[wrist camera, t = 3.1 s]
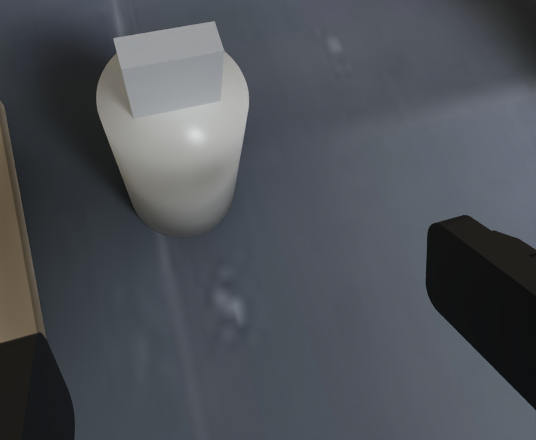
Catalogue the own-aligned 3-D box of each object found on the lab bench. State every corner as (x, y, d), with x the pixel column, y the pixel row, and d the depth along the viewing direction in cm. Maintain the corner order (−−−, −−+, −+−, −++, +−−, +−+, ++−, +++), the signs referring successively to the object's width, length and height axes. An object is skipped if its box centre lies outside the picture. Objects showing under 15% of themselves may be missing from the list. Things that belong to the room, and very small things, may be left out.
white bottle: (218, 132, 25) (230, -38, 15) (246, 223, 24) (279, 103, 14) (119, 153, 24) (61, -13, 14) (143, 249, 23) (97, 141, 13)
